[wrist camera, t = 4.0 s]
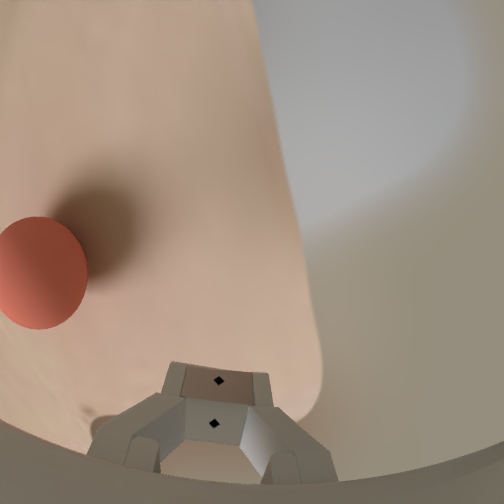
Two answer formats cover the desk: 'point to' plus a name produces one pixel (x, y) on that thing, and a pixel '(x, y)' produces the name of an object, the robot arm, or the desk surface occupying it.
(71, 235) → the ball
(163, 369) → the desk surface
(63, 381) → the desk surface
